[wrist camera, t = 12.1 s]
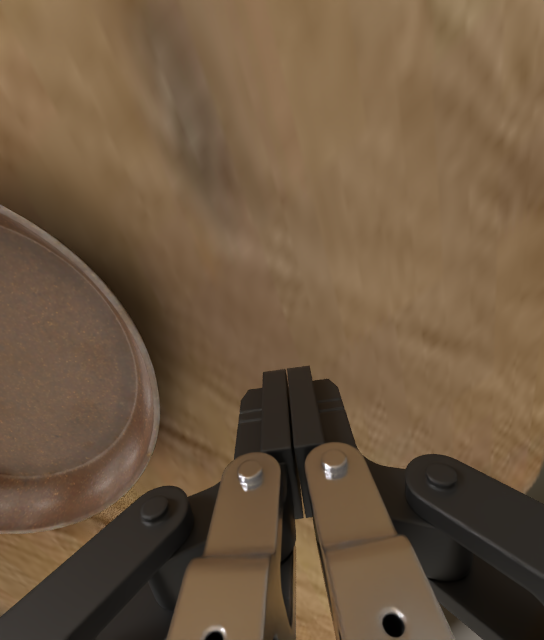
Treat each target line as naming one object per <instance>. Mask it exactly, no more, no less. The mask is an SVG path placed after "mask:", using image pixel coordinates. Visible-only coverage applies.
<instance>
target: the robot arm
mask: <svg viewBox="0 0 544 640" xmlns="http://www.w3.org/2000/svg"><path fill="white" fill-rule="evenodd" d="M287 373H288V381H287V375H286V370H285V369H282V370H275V371H267V372H263V386H262V388H258V389H251V390H248V391H247V393H246V394H245V396H244V397H243V398H242V400H241V405H240V414H239V424H238V430H237V438H236V446H235V454H234V460H233V461H232V462H231V463H230V464H228V466H227V467H226V468H225V470H224V472H223V475H222V478H221V481H220V482H219V483H218V484H216V485H214V486H213V487H211V488H209V489H207V490H204V491H202V492H199V493H197V494H194V495H192V496H189V497H187V495H186V493H185V492H184V491H183V490H182V489H180V488H178V487H175V486H162V487H158V488H155V489H153V490H150V491H148V492H147V493H145V494H144V495H142V496H141V497H140V498H138V499H137V500H136V501H135V502H134V503H133V504H131V505H130V506H129V507H128V508H127V509H126V510H124V511H123V512H122V513H121V514H120V515H119V516H117V517H116V518H115V519H114V520H113V521H112V522H110V523H109V524H108V525H107V526H106V527H105V528H103V529H102V530H101V531H100V532H99V533H98V534H96V535H95V536H94V537H93V538H92V539H91V540H89V541H88V542H87V543H86V544H85V545H84V546H83V547H81V548H80V549H79V550H78V551H77V552H76V553H74V554H73V555H72V556H71V557H70V558H69V559H67V560H66V561H65V562H64V563H63V564H62V565H60V566H59V567H58V568H57V569H56V570H55V571H53V572H52V573H51V574H50V575H49V576H48V577H46V578H45V579H44V580H43V581H42V582H41V583H40V584H38V585H37V586H36V587H35V588H34V589H33V590H31V591H30V592H29V593H28V594H27V595H26V596H24V597H23V598H22V599H21V600H20V601H19V602H17V603H16V604H15V605H14V606H13V607H12V608H10V609H9V610H8V611H7V612H6V613H5V614H3V615H2V616H1V617H0V640H296V546H295V541H296V529H295V519H301V518H303V508H302V498H301V491H302V497H303V503H304V509H305V514H306V518H308V517H313V523H314V529H315V535H316V542H317V548H318V553H319V558H320V563H321V568H322V573H323V578H324V582H325V587H326V592H327V597H328V602H329V607H330V612H331V617H332V621H333V626H334V631H335V636H336V640H455V638H454V636H453V634H452V631H451V629H450V627H449V625H448V623H447V620H446V618H445V616H444V614H443V612H442V609H441V607H440V605H439V603H440V604H441V605H443V606H444V607H445V608H446V609H447V610H449V611H450V612H451V613H452V614H453V615H455V616H456V617H457V618H458V619H459V620H461V621H462V622H463V623H464V624H465V625H467V626H468V627H469V628H470V629H471V630H472V631H474V632H475V633H476V634H477V635H478V636H480V637H481V638H482V639H483V640H544V504H542V503H540V502H539V501H537V500H534V499H533V498H531V497H529V496H527V495H525V494H523V493H521V492H519V491H517V490H515V489H513V488H511V487H509V486H507V485H505V484H503V483H501V482H499V481H497V480H495V479H493V478H491V477H490V476H488V475H486V474H484V473H482V472H480V471H478V470H476V469H474V468H472V467H470V466H468V465H466V464H464V463H462V462H460V461H458V460H456V459H454V458H451V457H448V456H444V455H439V454H427V455H422V456H419V457H417V458H415V459H413V460H412V461H411V462H410V463H409V464H408V465H407V467H406V469H400V468H393V467H387V466H382V465H379V464H376V463H374V462H372V461H370V460H368V459H367V458H366V457H364V456H363V455H362V454H361V453H360V451H359V450H358V449H357V446H356V444H355V440H354V437H353V434H352V431H351V428H350V424H349V421H348V418H347V415H346V412H345V409H344V405H343V402H342V399H341V396H340V392H339V389H338V387H337V386H336V385H335V384H334V383H333V382H331V381H330V380H329V379H323V380H315V381H312V376H311V371H310V366H303V367H295V368H288V369H287ZM288 384H289V387H288ZM300 485H301V488H300ZM438 602H439V603H438Z"/></svg>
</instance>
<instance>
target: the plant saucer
mask: <svg viewBox="0 0 544 640" xmlns="http://www.w3.org/2000/svg"><path fill="white" fill-rule="evenodd" d="M159 423H160V401H159V391H158V384H157V380H156V376H155V371H154V368H153V365H152V362H151V359H150V356H149V354H148V351H147V349H146V346H145V344H144V342H143V340H142V338H141V335H140V333H139V331H138V329H137V327H136V326H135V324H134V322H133V320H132V319H131V317H130V315H129V314H128V313H127V311H126V310H125V308H124V307H123V305H122V304H121V302H120V301H119V300H118V298H117V297H116V296H115V294H114V293H113V292H112V290H111V289H110V288H109V287H108V286H107V285H106V284H105V283H104V281H103V280H102V279H101V278H100V277H99V276H98V275H97V274H96V273H95V272H94V271H93V270H92V269H91V268H90V267H89V266H88V265H87V264H86V263H85V262H84V261H83V260H82V259H81V258H79V257H78V256H77V255H76V254H75V253H74V252H72V251H71V250H70V249H69V248H68V247H66V246H65V245H64V244H63V243H61V242H60V241H59V240H57V239H56V238H54V237H53V236H52V235H50V234H49V233H47V232H46V231H44V230H43V229H41V228H40V227H38V226H37V225H35V224H33V223H32V222H30V221H29V220H27V219H26V218H24V217H22V216H20V215H18V214H17V213H15V212H13V211H11V210H9V209H8V208H6V207H4V206H2V205H0V534H24V533H35V532H42V531H49V530H53V529H57V528H61V527H65V526H68V525H71V524H75V523H78V522H80V521H83V520H85V519H88V518H90V517H92V516H93V515H96V514H98V513H100V512H101V511H103V510H105V509H106V508H108V507H109V506H111V505H112V504H114V503H115V502H116V501H118V500H119V499H120V498H121V497H122V496H123V495H125V494H126V493H127V492H128V491H129V490H130V488H131V487H132V486H133V485H134V484H135V483H136V482H137V480H138V479H139V478H140V476H141V475H142V473H143V472H144V470H145V468H146V466H147V465H148V463H149V460H150V458H151V456H152V454H153V451H154V448H155V445H156V441H157V436H158V431H159Z"/></svg>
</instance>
